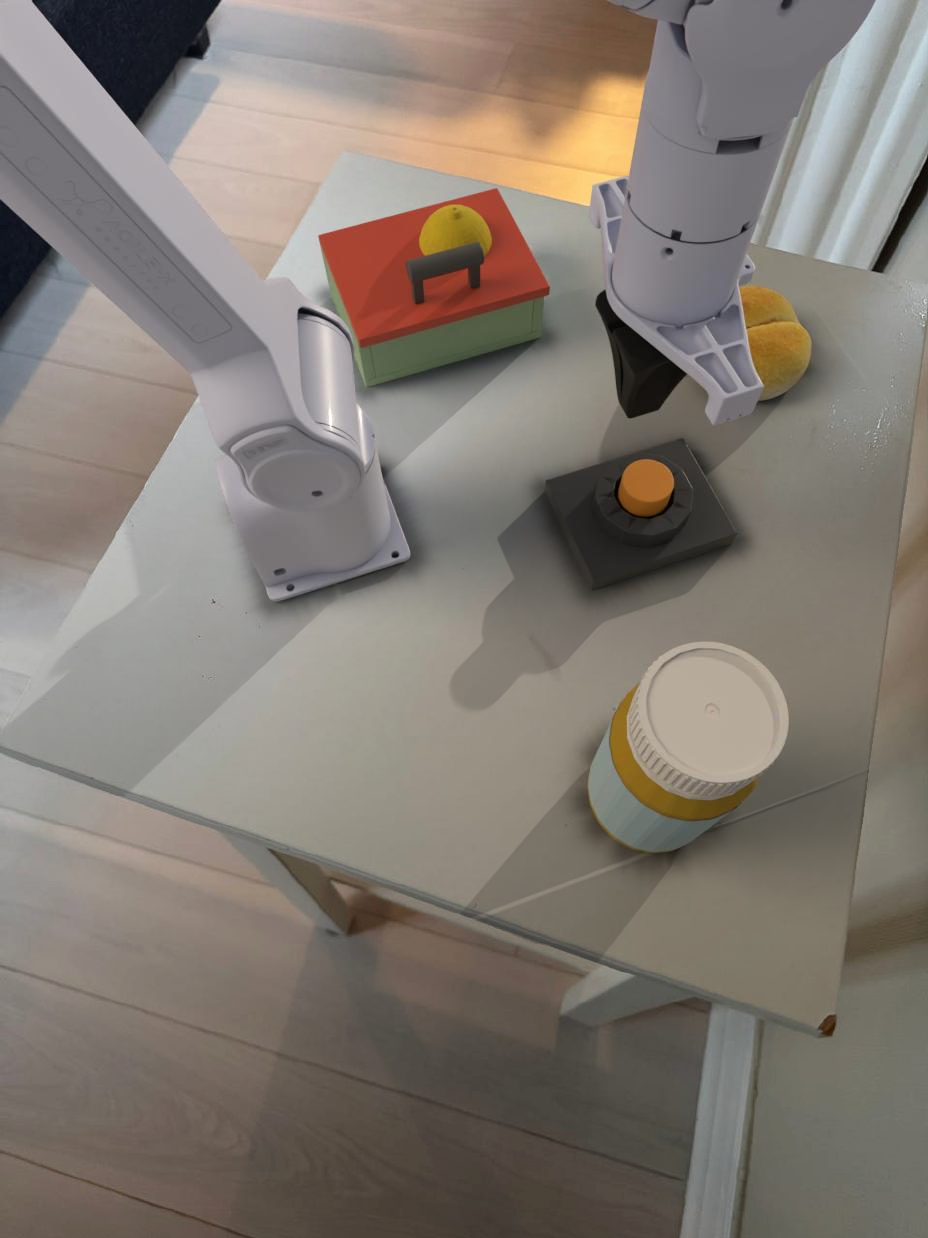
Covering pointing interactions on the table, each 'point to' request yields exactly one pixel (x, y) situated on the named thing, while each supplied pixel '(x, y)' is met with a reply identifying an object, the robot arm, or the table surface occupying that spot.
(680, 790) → the bottle
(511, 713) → the table surface
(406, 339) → the box
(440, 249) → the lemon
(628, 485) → the button
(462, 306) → the lid
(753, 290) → the bread roll
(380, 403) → the table surface
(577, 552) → the push button box
